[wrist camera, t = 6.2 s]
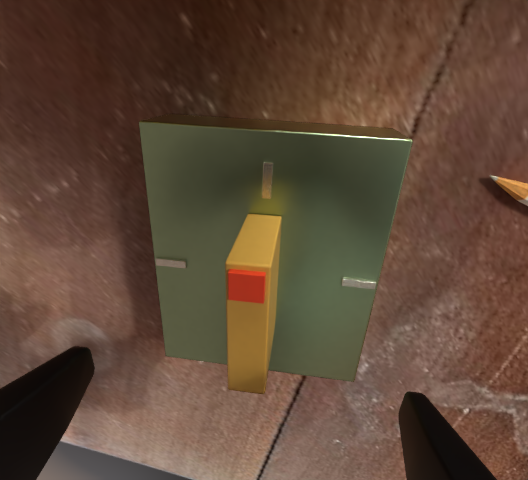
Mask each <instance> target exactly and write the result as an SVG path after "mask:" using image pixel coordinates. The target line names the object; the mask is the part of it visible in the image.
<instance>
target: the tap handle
mask: <svg viewBox="0 0 528 480" xmlns="http://www.w3.org/2000/svg"><path fill="white" fill-rule="evenodd" d="M281 221H282V218H281V216H271V215H258V214H248V215H247V217H246V219H245V221H244V223H243V225H242V228H241V230H240V232H239V234H238V236H237V238H236V241H235V243H234V245H233V247H232V249H231V251H230V253H229V256H228V258H227V260H226V262H225V283H226V328H227V373H228V389H229V390H235V391H243V392H250V393H258V394H264V393H265V390H266V383H267V376H268V369H269V362H270V355H271V348H272V341H273V335H274V328H275V318H276V302H277V286H278V270H279V253H280V237H281Z"/></svg>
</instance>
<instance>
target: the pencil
mask: <svg viewBox="0 0 528 480" xmlns="http://www.w3.org/2000/svg"><path fill="white" fill-rule="evenodd" d="M490 177H491V178H492V179H493V180H494V181H495V182H496V183H497V184H498V185H499V186H500V187H502V188H503V189H504V190H505V191H506V192H507V193H509V194H510V195H511V196H512V197H513V198H514V199H516V200H517V201H519V202H521V203H523V204H525V205H527V206H528V184H526V183H522V182H518V181H514V180H510V179H505V178H501V177H497V176H490Z"/></svg>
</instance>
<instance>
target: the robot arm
mask: <svg viewBox="0 0 528 480" xmlns="http://www.w3.org/2000/svg"><path fill="white" fill-rule="evenodd" d="M94 370H95V367H94V363H93V359H92V355H91V351H90V349H89V348H87V347H79V346H74V347H72V348H70V349H68V350H67V351H65V352H63V353H61V354H60V355H58V356H56V357H54V358H53V359H51V360H49V361H47V362H46V363H44V364H42V365H41V366H39V367H37V368H35V369H34V370H32V371H30V372H28V373H27V374H25V375H23V376H21V377H20V378H18V379H16V380H15V381H13V382H11V383H9V384H8V385H6V386H4V387H2V388H1V389H0V480H36V479H37V477H38V476H39V474H40V472H41V471H42V469H43V467H44V466H45V464H46V463H47V461H48V459H49V458H50V456H51V454H52V453H53V451H54V449H55V448H56V446H57V444H58V443H59V441H60V440H61V438H62V436H63V435H64V433H65V431H66V429H67V428H68V426H69V424H70V422H71V420H72V418H73V416H74V414H75V412H76V410H77V408H78V406H79V404H80V402H81V400H82V398H83V396H84V393H85V391H86V389H87V387H88V385H89V383H90V381H91V379H92V377H93V375H94ZM399 426H400V433H401V441H402V448H403V456H404V463H405V470H406V477H407V480H497V479H496V478H495V477H494V476H493V474H492V473H491V472H490V471H489V470H488V469H487V467H486V466H485V465H484V464H483V463H482V462H481V460H480V459H479V458H478V457H477V456H476V455H475V453H474V452H473V451H472V450H471V449H470V448H469V446H468V445H467V444H466V443H465V442H464V441H463V439H462V438H461V437H460V436H459V435H458V434H457V432H456V431H455V430H454V429H453V428H452V427H451V425H450V424H449V423H448V422H447V421H446V420H445V418H444V417H443V416H442V415H441V414H440V413H439V411H438V410H437V409H436V408H435V407H434V406H433V404H432V403H431V402H430V401H429V400H428V399H427V397H426V396H425V395H423V394H422V393H417V392H410V391H409V392H406V394H405V396H404V398H403V401H402V404H401V407H400V410H399Z"/></svg>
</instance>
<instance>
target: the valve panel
mask: <svg viewBox="0 0 528 480" xmlns="http://www.w3.org/2000/svg"><path fill="white" fill-rule="evenodd" d="M139 129H140V138H141V146H142V155H143V164H144V172H145V181H146V190H147V198H148V207H149V216H150V224H151V233H152V241H153V250H154V259H155V267H156V276H157V285H158V293H159V302H160V311H161V319H162V328H163V336H164V345H165V354H166V356H168V357H176V358H183V359H190V360H197V361H205V362H212V363H219V364H227V328H226V283H225V262H226V260H227V258H228V256H229V253H230V251H231V249H232V247H233V245H234V243H235V241H236V238H237V236H238V234H239V232H240V230H241V228H242V225H243V223H244V221H245V219H246V217H247V215H248V214H258V215H271V216H281V218H282V221H281V237H280V253H279V270H278V286H277V302H276V318H275V328H274V335H273V341H272V348H271V355H270V362H269V369H268V370H270V371H278V372H285V373H292V374H300V375H307V376H314V377H322V378H329V379H336V380H343V381H351V382H354V380H355V376H356V372H357V368H358V364H359V360H360V356H361V352H362V348H363V343H364V339H365V335H366V331H367V327H368V323H369V319H370V315H371V311H372V307H373V302H374V298H375V294H376V290H377V286H378V282H379V278H380V274H381V270H382V266H383V262H384V257H385V253H386V249H387V245H388V241H389V237H390V233H391V229H392V225H393V221H394V216H395V212H396V208H397V204H398V200H399V196H400V192H401V188H402V184H403V180H404V175H405V171H406V167H407V163H408V159H409V155H410V151H411V147H412V143H413V141H412V140H411V139H410V138H408V137H406V136H405V135H403V134H401V133H400V132H398V131H396V130H395V129H393V128H379V127H364V126H349V125H334V124H318V123H303V122H288V121H273V120H258V119H243V118H228V117H213V116H198V115H183V114H166V115H162V116H158V117H154V118H150V119H145V120H141V121H139Z"/></svg>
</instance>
